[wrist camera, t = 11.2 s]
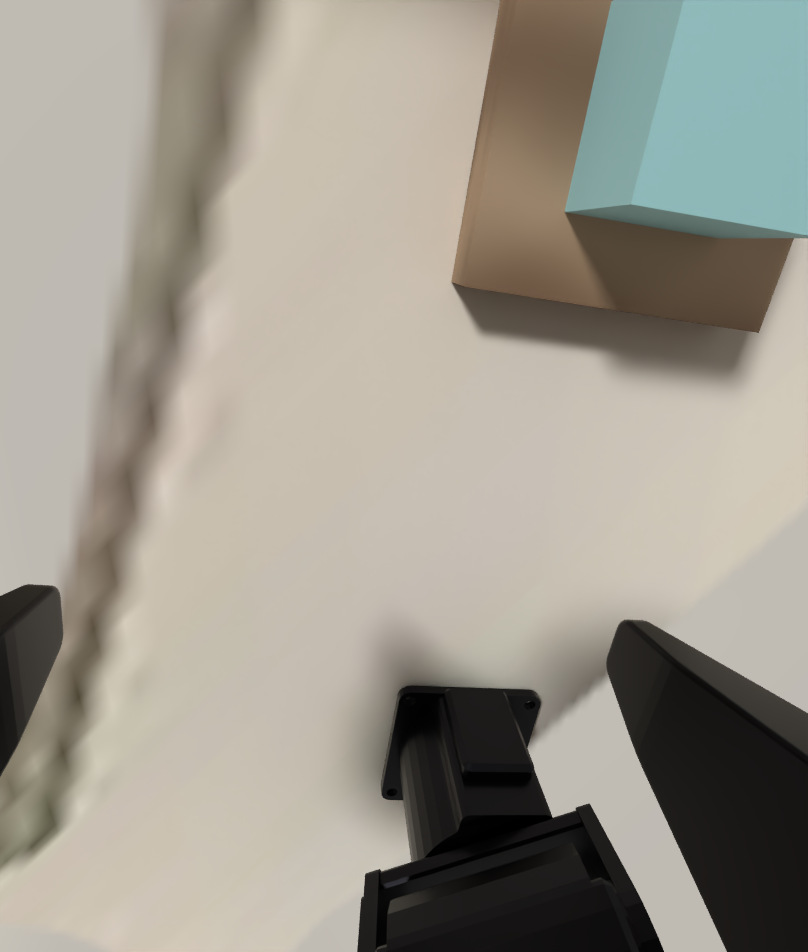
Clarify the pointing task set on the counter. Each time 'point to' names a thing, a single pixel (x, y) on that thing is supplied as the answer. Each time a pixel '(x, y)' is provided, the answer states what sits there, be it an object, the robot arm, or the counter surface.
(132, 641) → the counter surface
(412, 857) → the robot arm
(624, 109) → the teal block
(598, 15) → the walnut base
